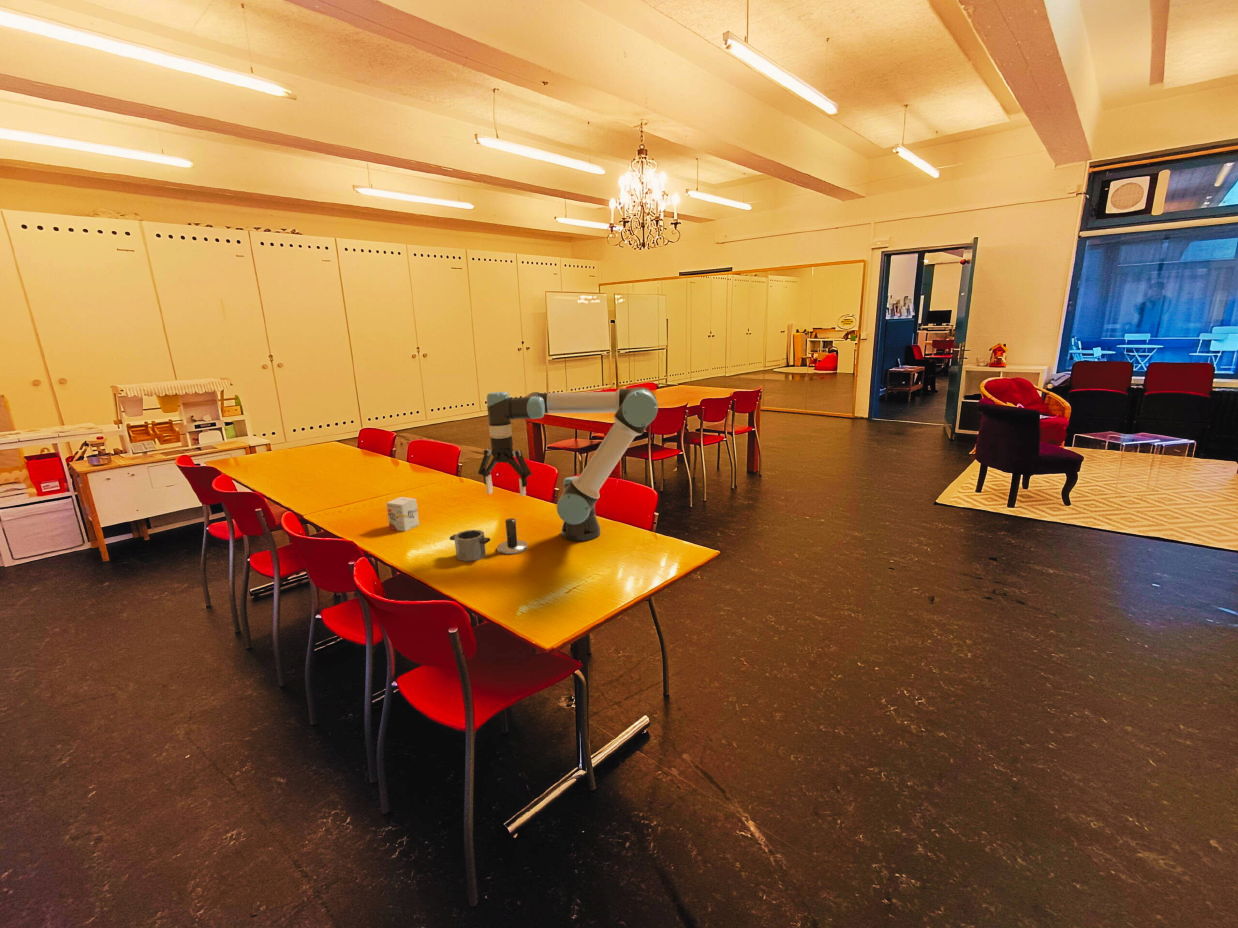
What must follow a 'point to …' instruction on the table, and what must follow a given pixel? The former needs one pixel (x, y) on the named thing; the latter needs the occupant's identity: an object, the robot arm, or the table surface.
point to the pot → (470, 545)
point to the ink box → (402, 514)
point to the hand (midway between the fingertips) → (506, 494)
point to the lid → (512, 540)
